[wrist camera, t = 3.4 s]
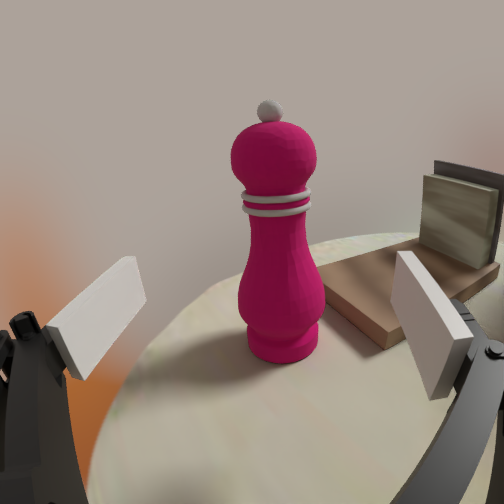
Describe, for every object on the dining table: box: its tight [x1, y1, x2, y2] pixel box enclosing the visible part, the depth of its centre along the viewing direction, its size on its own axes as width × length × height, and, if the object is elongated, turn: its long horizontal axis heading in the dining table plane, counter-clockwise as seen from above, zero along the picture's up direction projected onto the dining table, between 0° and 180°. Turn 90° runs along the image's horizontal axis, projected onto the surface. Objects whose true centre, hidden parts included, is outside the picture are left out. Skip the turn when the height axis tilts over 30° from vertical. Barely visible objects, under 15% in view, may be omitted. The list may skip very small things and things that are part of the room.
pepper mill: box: [231, 100, 325, 364], centre depth 23 cm, size 7×7×20 cm
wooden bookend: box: [317, 160, 504, 350], centre depth 30 cm, size 24×14×14 cm, turn 112°
